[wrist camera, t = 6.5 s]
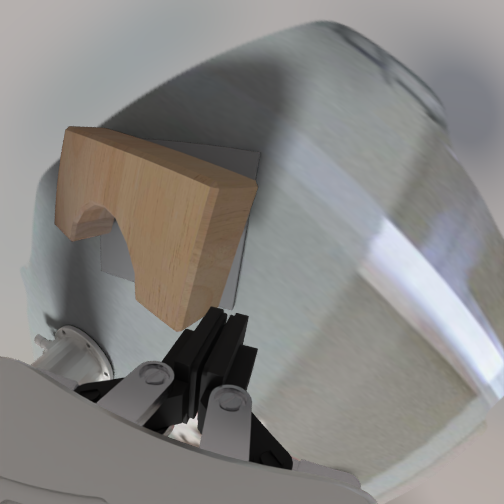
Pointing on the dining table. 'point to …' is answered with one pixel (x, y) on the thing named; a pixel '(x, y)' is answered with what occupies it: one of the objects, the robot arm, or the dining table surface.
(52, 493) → the robot arm
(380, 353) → the dining table surface
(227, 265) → the decorative block
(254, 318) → the dining table surface
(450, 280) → the dining table surface
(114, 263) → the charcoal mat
